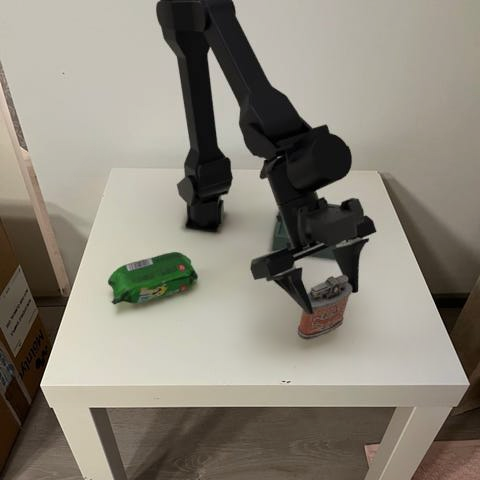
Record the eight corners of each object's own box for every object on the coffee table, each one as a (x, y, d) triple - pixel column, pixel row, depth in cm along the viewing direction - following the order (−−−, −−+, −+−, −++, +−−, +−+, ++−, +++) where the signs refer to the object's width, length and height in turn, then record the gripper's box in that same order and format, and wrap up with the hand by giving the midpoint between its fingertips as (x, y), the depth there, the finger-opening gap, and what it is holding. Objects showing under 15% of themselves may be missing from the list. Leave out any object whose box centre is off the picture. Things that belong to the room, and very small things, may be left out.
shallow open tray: (272, 250, 93) (273, 235, 90) (280, 212, 101) (281, 197, 98) (338, 260, 91) (341, 245, 89) (341, 220, 100) (344, 205, 97)
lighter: (334, 310, 78) (346, 264, 71) (347, 324, 76) (361, 279, 69) (292, 328, 75) (301, 282, 68) (305, 343, 74) (315, 298, 66)
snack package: (105, 289, 85) (99, 267, 81) (189, 264, 89) (187, 242, 85) (116, 317, 80) (111, 295, 76) (203, 289, 85) (203, 267, 81)
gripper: (268, 206, 57) (312, 329, 59) (384, 164, 64) (420, 275, 66) (231, 224, 67) (270, 328, 69) (335, 186, 74) (367, 282, 76)
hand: (333, 303), depth 70 cm, fingers closed on lighter, 8 cm apart
